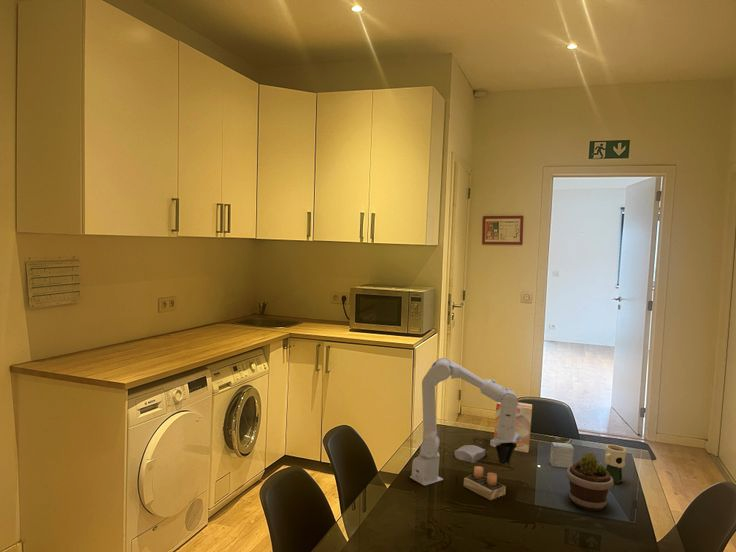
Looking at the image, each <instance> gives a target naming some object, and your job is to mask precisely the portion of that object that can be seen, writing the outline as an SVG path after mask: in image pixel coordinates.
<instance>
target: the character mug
mask: <svg viewBox="0 0 736 552" xmlns="http://www.w3.org/2000/svg"><path fill="white" fill-rule="evenodd" d="M604 452H605V454H604V463H606V466H605V469H606V470H607V471H608V472H609V474H610V476H611V477H612V478H613V483H614V484H620V482H621V483H623V468H624V467H625V465H626V456H627V449H626V448H625V447H624V446H621V445H618V444H606V445H605V451H604Z"/></svg>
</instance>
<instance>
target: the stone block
mask: <svg viewBox="0 0 736 552" xmlns="http://www.w3.org/2000/svg"><path fill="white" fill-rule="evenodd" d="M453 455H454V457H455V458H456V459H457V460H460V461H464V462H467V463H470V464H474V463H476V462H478V461H480V460H481V459H482V458H484V457H485V456H486V448H482V447H480V446H478V445H474V444H472V445H471V444H465V445H463V446H460V447H458V449H456V450H454V454H453Z"/></svg>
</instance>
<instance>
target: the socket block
mask: <svg viewBox="0 0 736 552" xmlns="http://www.w3.org/2000/svg"><path fill="white" fill-rule="evenodd" d="M463 487H464V488H466V489H467V490H469V491H472V492H474V493H475V494H477V495H479V496H481V497H482V498H483V497H484V498H485V499H487V500H488V501H493V500H494V499H495V500H496V499H498V498H500V496H501V497H503V496H505V495H506V488H507V487H506V485H504V484H502V483H501V482H496V486H490V485H488V484H487V476H485V475H483V479H476V478H474V473H473V474H470V475H467V476H466V477H464V479H463ZM497 497H498V498H497Z"/></svg>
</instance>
